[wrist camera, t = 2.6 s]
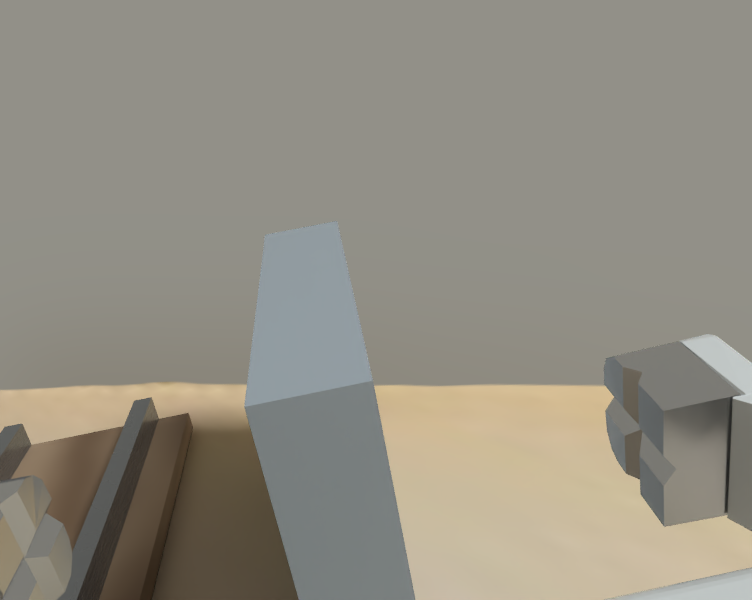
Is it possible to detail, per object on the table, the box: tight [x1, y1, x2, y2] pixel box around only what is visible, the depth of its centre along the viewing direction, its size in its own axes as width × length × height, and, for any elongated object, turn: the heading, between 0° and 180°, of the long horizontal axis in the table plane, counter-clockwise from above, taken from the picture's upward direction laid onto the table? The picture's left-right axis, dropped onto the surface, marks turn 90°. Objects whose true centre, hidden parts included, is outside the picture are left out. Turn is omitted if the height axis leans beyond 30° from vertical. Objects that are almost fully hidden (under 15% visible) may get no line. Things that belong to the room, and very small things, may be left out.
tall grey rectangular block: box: [244, 221, 415, 600], centre depth 28 cm, size 4×16×12 cm, turn 7°
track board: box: [0, 397, 193, 600], centre depth 31 cm, size 12×20×2 cm, turn 7°
